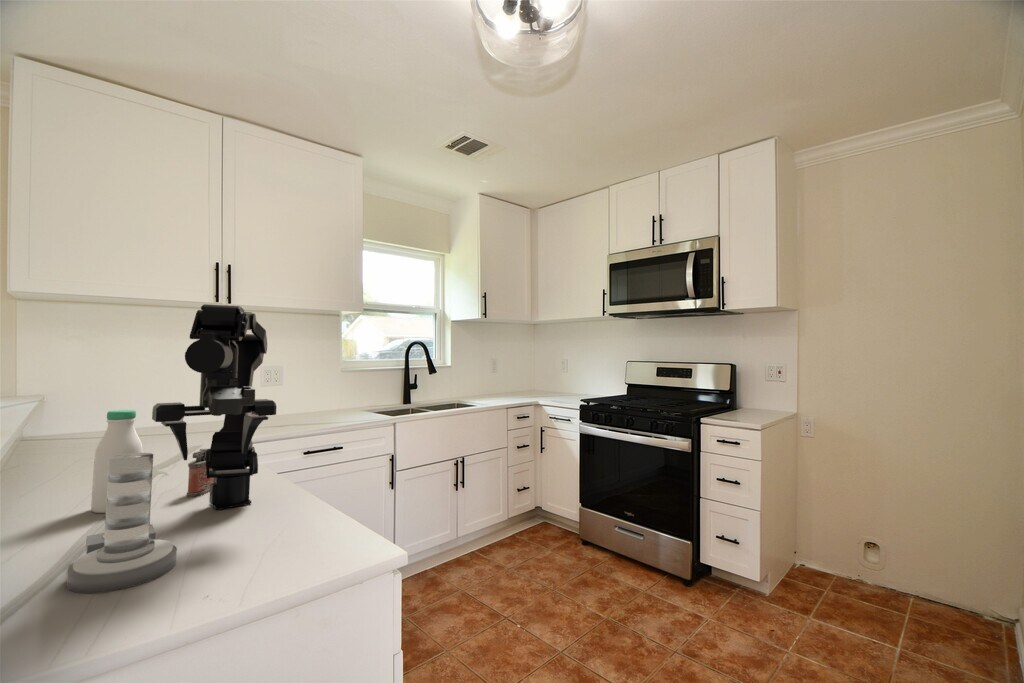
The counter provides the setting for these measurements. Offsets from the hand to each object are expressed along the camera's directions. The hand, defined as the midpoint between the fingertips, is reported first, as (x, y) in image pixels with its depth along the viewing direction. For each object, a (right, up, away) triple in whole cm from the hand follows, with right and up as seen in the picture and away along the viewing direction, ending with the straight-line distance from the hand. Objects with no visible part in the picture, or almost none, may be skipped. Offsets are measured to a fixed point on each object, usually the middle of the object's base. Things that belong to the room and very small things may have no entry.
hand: (215, 456), depth 84 cm
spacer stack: (-1, -10, -18) cm, 20 cm away
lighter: (-17, -14, +22) cm, 31 cm away
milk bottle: (-27, -13, +10) cm, 32 cm away
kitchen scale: (-3, -12, -17) cm, 21 cm away
